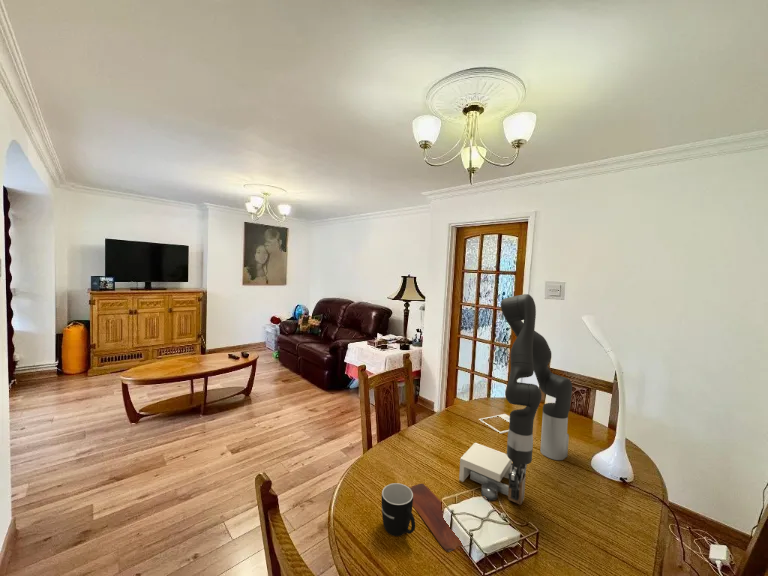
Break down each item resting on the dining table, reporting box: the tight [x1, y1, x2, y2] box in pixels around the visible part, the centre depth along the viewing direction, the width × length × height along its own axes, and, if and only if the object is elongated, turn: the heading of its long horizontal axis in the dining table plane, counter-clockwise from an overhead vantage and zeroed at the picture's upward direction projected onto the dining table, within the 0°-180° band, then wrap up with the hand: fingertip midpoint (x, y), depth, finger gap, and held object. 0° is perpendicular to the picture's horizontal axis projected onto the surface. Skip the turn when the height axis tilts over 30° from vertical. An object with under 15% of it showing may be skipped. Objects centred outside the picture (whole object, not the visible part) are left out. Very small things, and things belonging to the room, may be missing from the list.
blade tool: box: [469, 470, 527, 506], centre depth 107 cm, size 18×4×8 cm, turn 52°
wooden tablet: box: [409, 483, 464, 553], centre depth 96 cm, size 27×10×2 cm, turn 24°
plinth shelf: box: [458, 442, 513, 482], centre depth 114 cm, size 14×14×8 cm
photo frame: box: [478, 413, 510, 435], centre depth 158 cm, size 15×1×18 cm
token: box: [481, 483, 498, 501], centre depth 105 cm, size 5×5×2 cm
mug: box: [381, 482, 416, 537], centre depth 89 cm, size 12×9×10 cm
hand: (516, 495), depth 103 cm, fingers closed on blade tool, 4 cm apart
